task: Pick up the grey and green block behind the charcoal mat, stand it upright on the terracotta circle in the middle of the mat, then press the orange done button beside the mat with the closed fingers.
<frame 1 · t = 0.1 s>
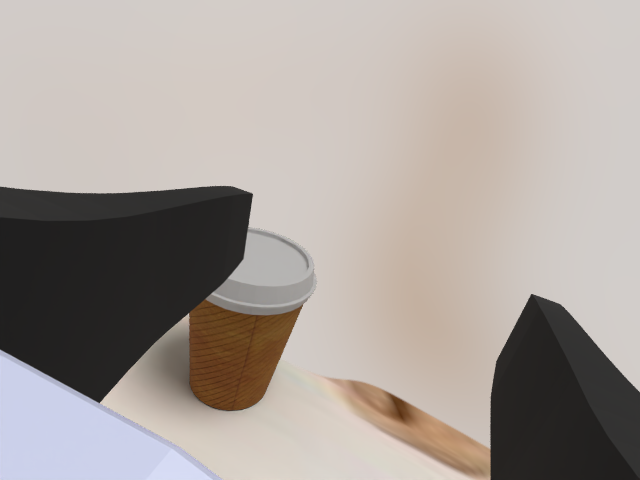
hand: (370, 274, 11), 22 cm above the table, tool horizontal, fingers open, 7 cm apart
disposable coffee cup: (228, 382, 36), on the table
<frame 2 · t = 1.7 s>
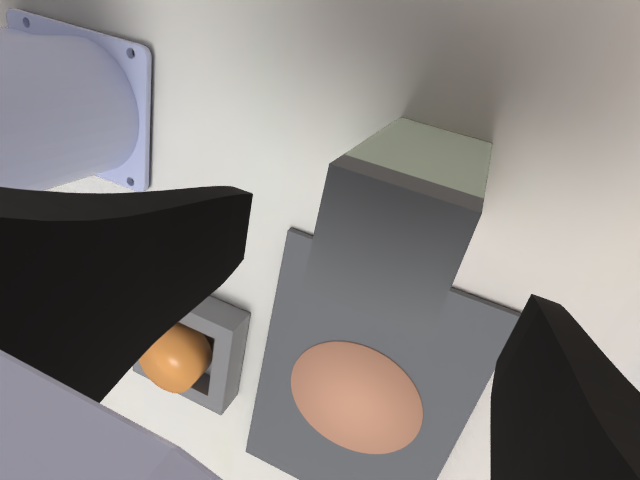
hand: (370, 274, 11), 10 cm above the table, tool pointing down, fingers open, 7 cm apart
grey and green block: (430, 173, 20), on the table
drawing mat: (355, 394, 26), on the table
done button: (175, 355, 27), point 2 cm above the table, slide at 0.0 cm
button housing: (197, 335, 29), on the table
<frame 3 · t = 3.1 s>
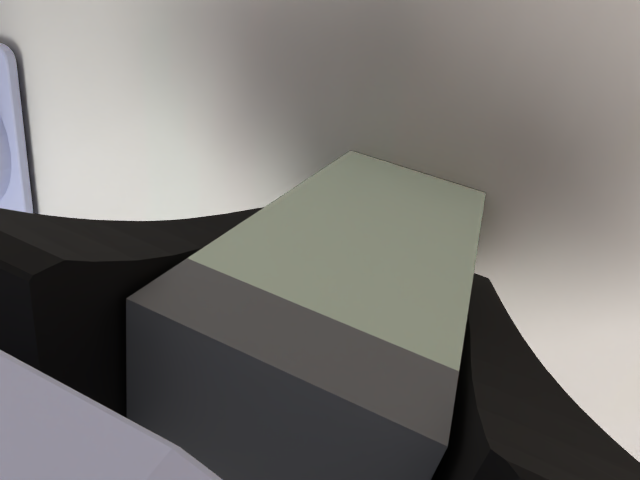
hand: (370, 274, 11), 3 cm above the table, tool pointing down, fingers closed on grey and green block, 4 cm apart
grey and green block: (396, 232, 14), on the table, touching gripper
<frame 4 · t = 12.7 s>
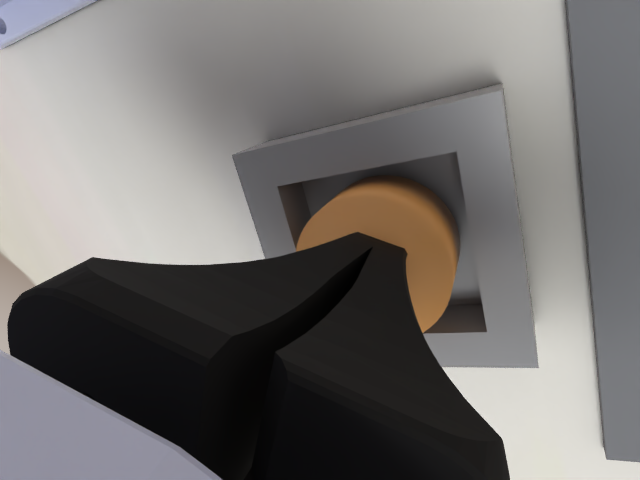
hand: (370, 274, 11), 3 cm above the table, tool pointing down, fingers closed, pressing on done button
done button: (378, 257, 12), point 2 cm above the table, slide at 0.3 cm, touching gripper
button housing: (395, 230, 14), on the table
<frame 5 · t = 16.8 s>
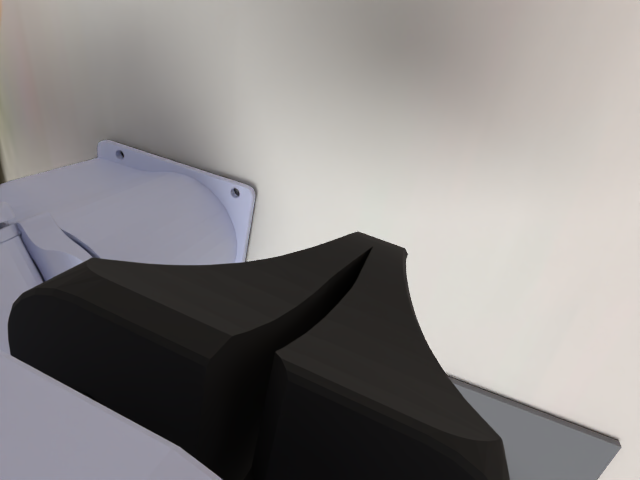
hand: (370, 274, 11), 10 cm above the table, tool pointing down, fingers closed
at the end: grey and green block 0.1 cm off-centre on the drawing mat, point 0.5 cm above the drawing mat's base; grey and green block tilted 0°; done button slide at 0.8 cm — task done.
